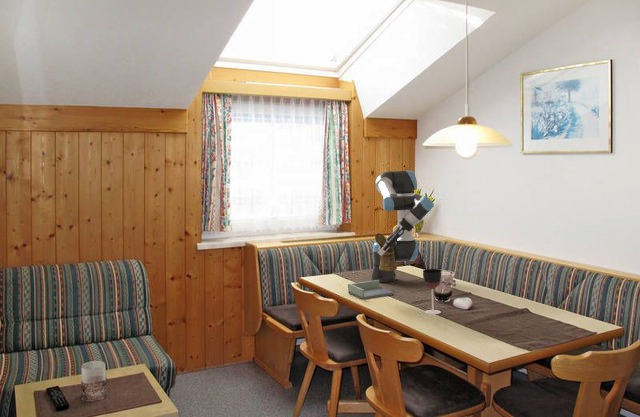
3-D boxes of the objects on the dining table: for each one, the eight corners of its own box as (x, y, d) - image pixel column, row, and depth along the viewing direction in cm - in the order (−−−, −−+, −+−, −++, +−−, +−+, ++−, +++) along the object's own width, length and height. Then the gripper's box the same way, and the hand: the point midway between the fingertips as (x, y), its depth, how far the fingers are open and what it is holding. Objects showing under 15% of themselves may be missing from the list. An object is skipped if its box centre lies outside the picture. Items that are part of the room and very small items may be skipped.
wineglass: (421, 310, 291) (420, 269, 289) (439, 309, 291) (438, 268, 289) (426, 314, 283) (425, 273, 281) (444, 313, 283) (443, 272, 281)
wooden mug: (386, 264, 323) (385, 232, 321) (400, 269, 311) (398, 235, 309) (372, 267, 319) (370, 233, 317) (385, 271, 307) (383, 237, 305)
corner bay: (378, 288, 338) (378, 279, 337) (393, 294, 323) (393, 285, 323) (348, 293, 330) (348, 284, 329) (362, 299, 315) (362, 290, 315)
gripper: (415, 230, 299) (384, 261, 303) (413, 223, 321) (385, 252, 325) (404, 219, 299) (373, 251, 303) (403, 213, 321) (375, 243, 325)
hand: (379, 252), depth 314 cm, fingers closed on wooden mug, 10 cm apart
